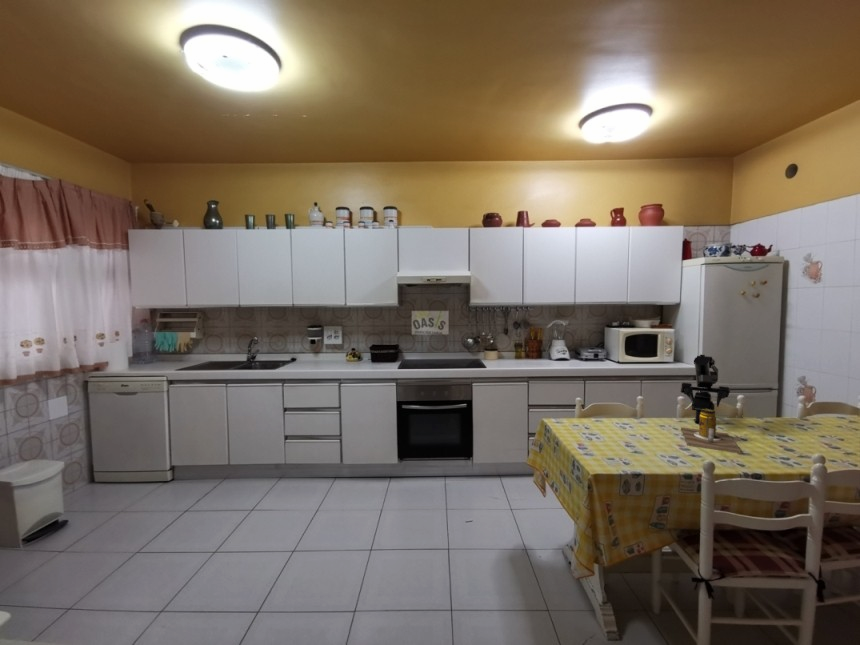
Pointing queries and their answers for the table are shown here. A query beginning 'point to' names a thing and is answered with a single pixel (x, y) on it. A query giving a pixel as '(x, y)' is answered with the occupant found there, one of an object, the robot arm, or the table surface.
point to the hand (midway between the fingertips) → (705, 405)
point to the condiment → (707, 423)
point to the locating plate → (705, 443)
